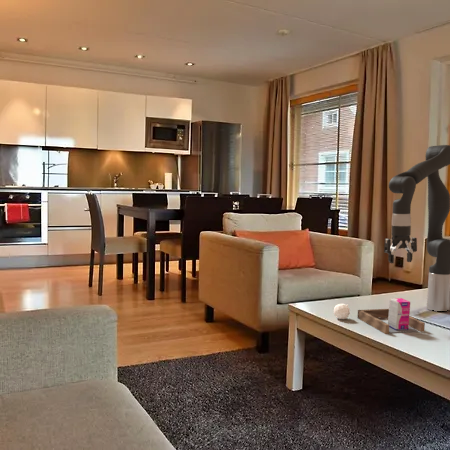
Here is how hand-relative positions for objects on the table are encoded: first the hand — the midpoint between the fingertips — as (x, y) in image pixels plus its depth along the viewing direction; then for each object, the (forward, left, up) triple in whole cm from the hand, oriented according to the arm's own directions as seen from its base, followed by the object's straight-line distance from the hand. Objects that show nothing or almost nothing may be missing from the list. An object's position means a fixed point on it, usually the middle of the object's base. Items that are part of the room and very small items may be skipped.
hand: (400, 262), depth 199 cm
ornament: (+24, -4, -25) cm, 35 cm away
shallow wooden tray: (+8, +7, -25) cm, 27 cm away
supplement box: (+8, +12, -24) cm, 28 cm away
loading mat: (+8, +12, -25) cm, 28 cm away
